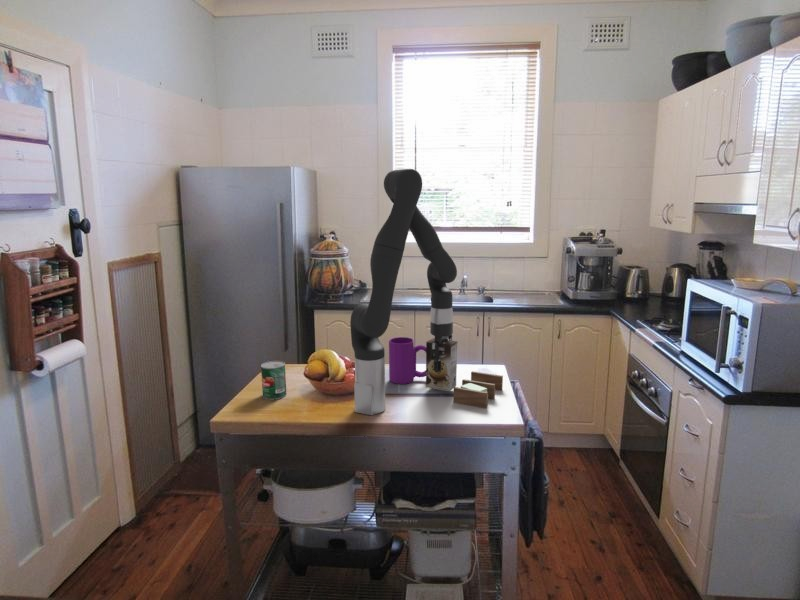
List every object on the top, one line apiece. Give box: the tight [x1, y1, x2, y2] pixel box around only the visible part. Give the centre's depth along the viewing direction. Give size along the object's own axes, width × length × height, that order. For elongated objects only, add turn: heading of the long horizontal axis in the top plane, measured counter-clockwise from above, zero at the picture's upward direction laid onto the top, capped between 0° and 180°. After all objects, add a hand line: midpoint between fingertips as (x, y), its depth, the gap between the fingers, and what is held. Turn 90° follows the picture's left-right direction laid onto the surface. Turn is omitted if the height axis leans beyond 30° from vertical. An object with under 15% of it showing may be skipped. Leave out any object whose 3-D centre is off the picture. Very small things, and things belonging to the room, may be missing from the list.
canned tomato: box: [260, 360, 287, 401], centre depth 176 cm, size 8×8×11 cm
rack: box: [452, 370, 504, 409], centre depth 174 cm, size 18×11×5 cm, turn 153°
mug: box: [388, 336, 426, 385], centre depth 189 cm, size 9×16×15 cm, turn 90°
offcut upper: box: [460, 383, 487, 392], centre depth 170 cm, size 5×7×2 cm, turn 43°
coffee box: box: [425, 337, 458, 392], centre depth 178 cm, size 9×6×16 cm
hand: (441, 367), depth 178 cm, fingers closed on coffee box, 6 cm apart
